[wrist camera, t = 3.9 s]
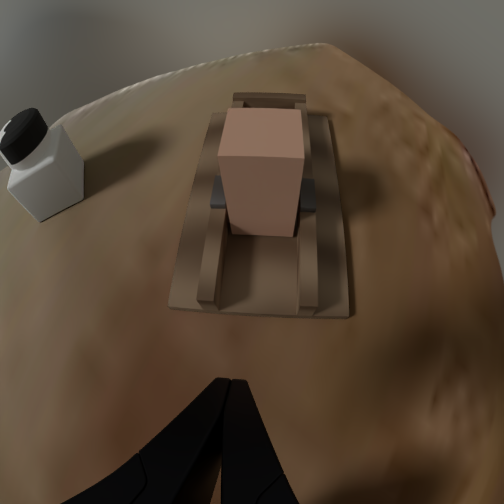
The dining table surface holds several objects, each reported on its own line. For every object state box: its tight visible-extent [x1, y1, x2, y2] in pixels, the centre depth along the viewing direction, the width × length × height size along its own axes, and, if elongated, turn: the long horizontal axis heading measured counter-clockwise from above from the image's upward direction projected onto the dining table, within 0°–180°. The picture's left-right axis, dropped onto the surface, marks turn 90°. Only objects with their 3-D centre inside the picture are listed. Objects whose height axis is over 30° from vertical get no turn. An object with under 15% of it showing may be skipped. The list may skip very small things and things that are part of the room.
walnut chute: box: [168, 93, 349, 319], centre depth 26 cm, size 24×14×4 cm, turn 176°
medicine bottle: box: [0, 108, 84, 222], centre depth 24 cm, size 7×7×12 cm
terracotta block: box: [217, 108, 305, 237], centre depth 21 cm, size 5×5×9 cm
